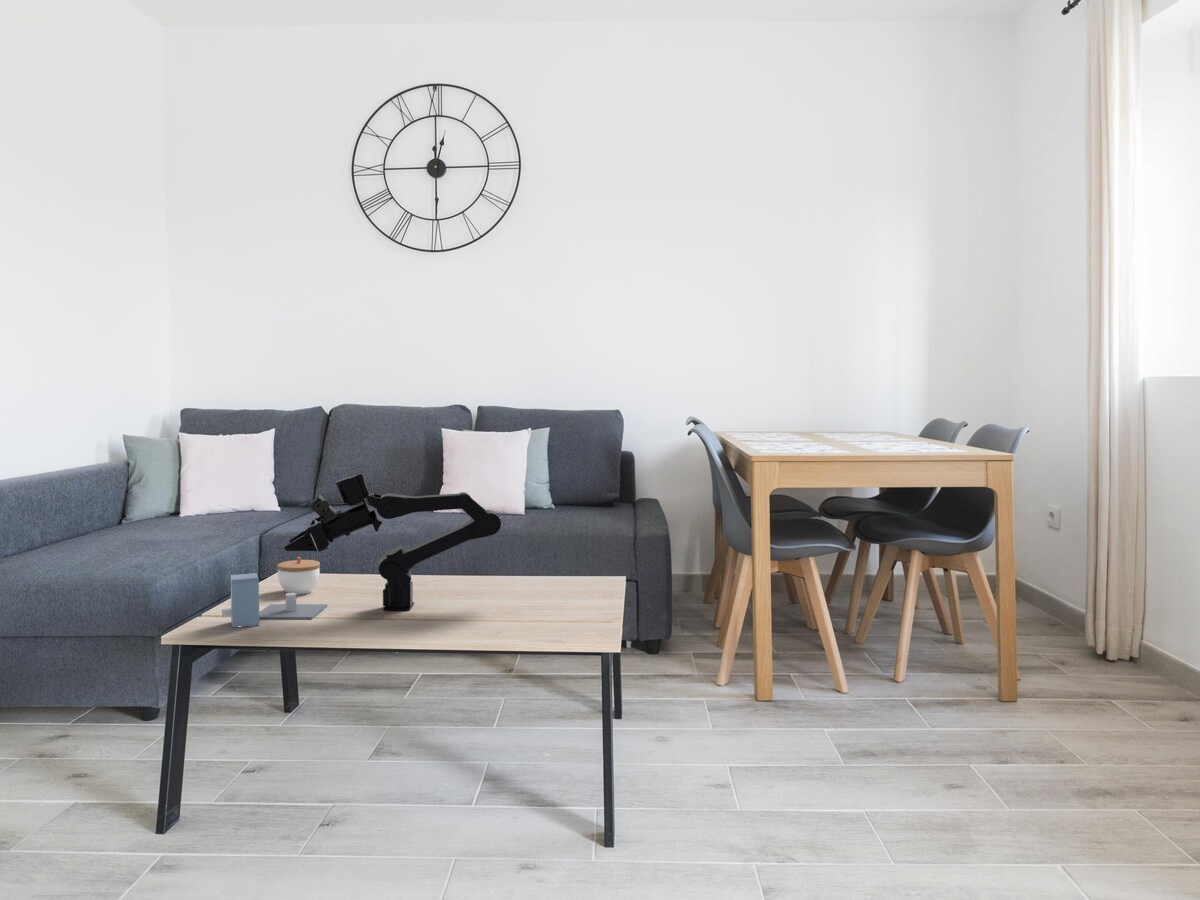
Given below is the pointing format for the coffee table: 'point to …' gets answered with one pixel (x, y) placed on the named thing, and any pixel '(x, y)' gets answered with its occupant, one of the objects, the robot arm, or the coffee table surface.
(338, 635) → the coffee table surface
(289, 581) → the lidded jar
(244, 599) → the tall blue rectangular block
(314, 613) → the flat square base plate
